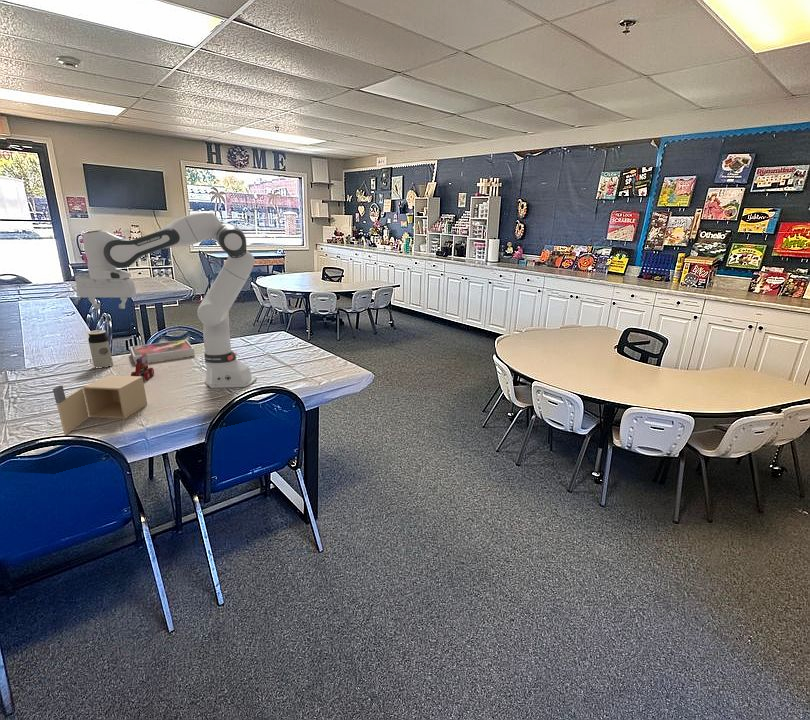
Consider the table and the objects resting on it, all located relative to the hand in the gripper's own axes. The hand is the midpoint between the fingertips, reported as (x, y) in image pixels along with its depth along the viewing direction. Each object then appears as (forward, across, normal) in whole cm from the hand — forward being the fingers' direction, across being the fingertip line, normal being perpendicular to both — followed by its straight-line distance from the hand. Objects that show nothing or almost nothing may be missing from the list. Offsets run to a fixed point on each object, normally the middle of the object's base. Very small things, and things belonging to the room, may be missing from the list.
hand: (109, 308), depth 169 cm
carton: (+37, +5, -17) cm, 41 cm away
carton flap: (+37, -2, -30) cm, 47 cm away
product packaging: (+38, -8, +57) cm, 69 cm away
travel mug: (+37, -30, +40) cm, 62 cm away
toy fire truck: (+37, -2, +21) cm, 43 cm away
